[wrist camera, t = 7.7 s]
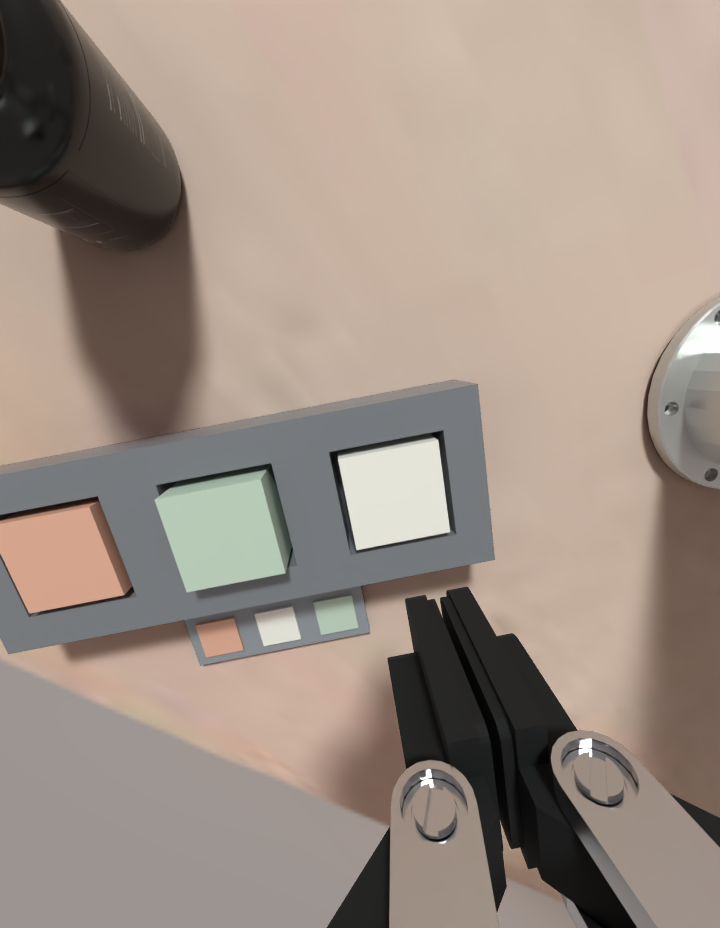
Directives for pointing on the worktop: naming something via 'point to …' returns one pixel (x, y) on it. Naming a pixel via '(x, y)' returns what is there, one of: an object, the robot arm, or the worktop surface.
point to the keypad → (301, 494)
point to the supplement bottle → (78, 135)
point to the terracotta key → (62, 555)
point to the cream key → (394, 490)
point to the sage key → (226, 527)
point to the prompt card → (278, 625)
